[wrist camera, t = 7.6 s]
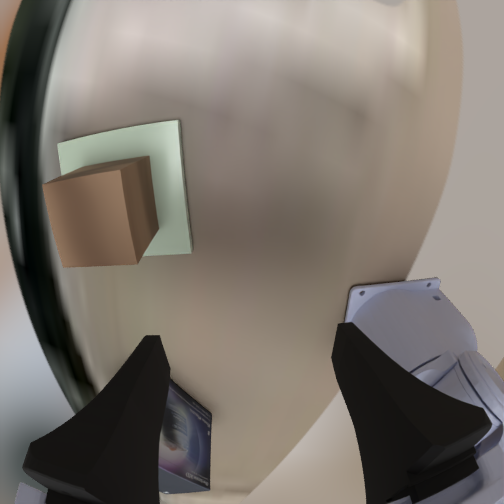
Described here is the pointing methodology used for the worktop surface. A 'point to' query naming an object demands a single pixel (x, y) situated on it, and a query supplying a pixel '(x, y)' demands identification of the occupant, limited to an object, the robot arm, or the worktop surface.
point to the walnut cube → (103, 213)
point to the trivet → (162, 169)
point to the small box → (184, 445)
